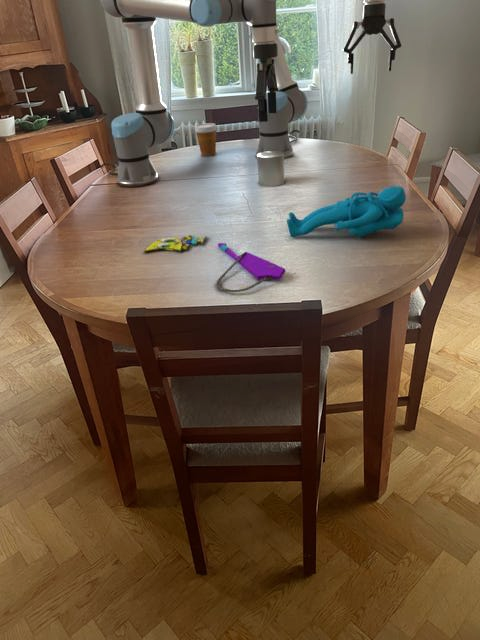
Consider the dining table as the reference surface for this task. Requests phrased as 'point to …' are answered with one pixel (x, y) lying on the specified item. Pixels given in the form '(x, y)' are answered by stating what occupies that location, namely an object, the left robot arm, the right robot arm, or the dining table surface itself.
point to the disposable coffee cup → (206, 138)
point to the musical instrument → (252, 267)
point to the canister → (271, 168)
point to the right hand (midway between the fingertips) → (370, 72)
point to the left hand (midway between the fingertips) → (268, 117)
